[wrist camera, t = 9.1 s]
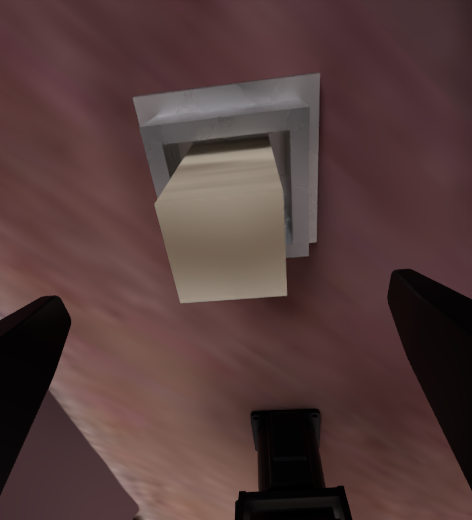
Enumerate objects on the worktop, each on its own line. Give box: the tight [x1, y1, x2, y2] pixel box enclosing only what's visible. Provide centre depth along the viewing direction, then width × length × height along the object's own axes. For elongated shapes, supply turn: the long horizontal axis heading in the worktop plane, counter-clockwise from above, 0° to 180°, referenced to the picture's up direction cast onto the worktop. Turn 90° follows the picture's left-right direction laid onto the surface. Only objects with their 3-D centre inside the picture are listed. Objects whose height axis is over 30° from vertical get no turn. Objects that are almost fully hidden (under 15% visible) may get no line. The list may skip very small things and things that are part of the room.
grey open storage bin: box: [133, 72, 320, 258], centre depth 17 cm, size 9×9×4 cm
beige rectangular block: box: [154, 137, 287, 303], centre depth 14 cm, size 4×4×8 cm
